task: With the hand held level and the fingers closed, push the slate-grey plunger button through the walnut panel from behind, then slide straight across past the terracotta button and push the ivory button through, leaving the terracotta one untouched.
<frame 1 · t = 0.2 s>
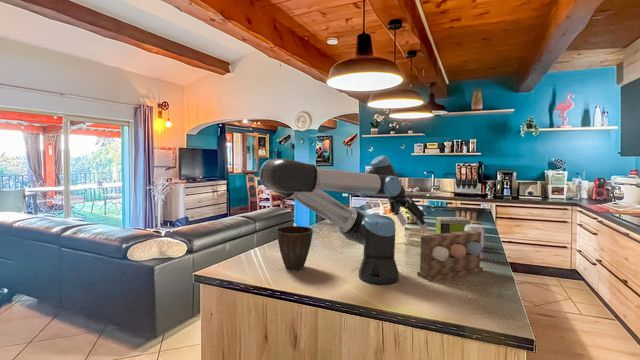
hand: (414, 227, 151), 15 cm above the counter, tool tilted 35°, fingers open, 13 cm apart
terracotta button: (451, 249, 132), point 10 cm above the counter, slide at 0.0 cm
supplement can: (473, 258, 155), on the counter
slate button: (468, 246, 136), point 10 cm above the counter, slide at 0.0 cm
plant pot: (294, 268, 139), on the counter
ivory button: (434, 251, 128), point 10 cm above the counter, slide at 0.0 cm
tea box: (452, 246, 177), on the counter
console: (450, 273, 133), on the counter
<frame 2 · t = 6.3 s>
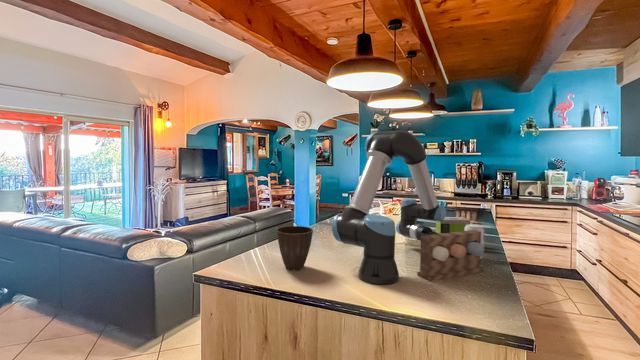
hand: (461, 244, 140), 10 cm above the counter, tool horizontal, fingers closed
slate button: (470, 247, 135), point 10 cm above the counter, slide at 1.1 cm, touching gripper
everything else where it was.
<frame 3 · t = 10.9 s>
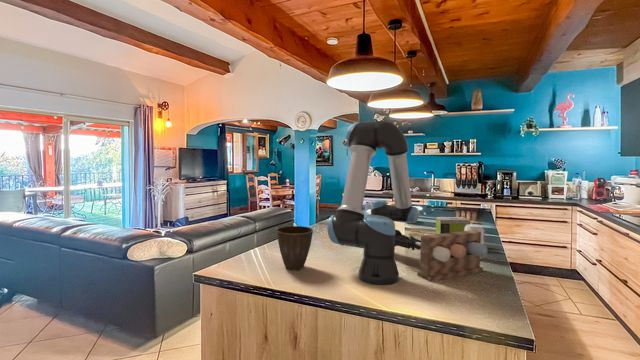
hand: (428, 249, 132), 10 cm above the counter, tool horizontal, fingers closed
slate button: (473, 248, 134), point 10 cm above the counter, slide at 2.5 cm
ivory button: (436, 252, 128), point 10 cm above the counter, slide at 0.9 cm, touching gripper
everything else where it was.
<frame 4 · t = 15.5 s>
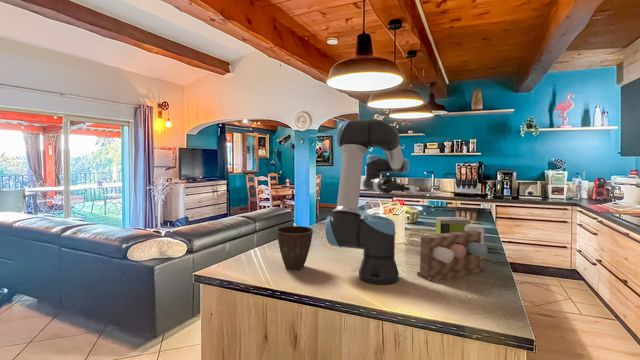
hand: (415, 189, 149), 32 cm above the counter, tool horizontal, fingers closed
ivory button: (439, 253, 126), point 10 cm above the counter, slide at 2.5 cm
everything else where it was.
at the end: slate button slide at 2.5 cm; ivory button slide at 2.5 cm; terracotta button slide at 0.0 cm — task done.
